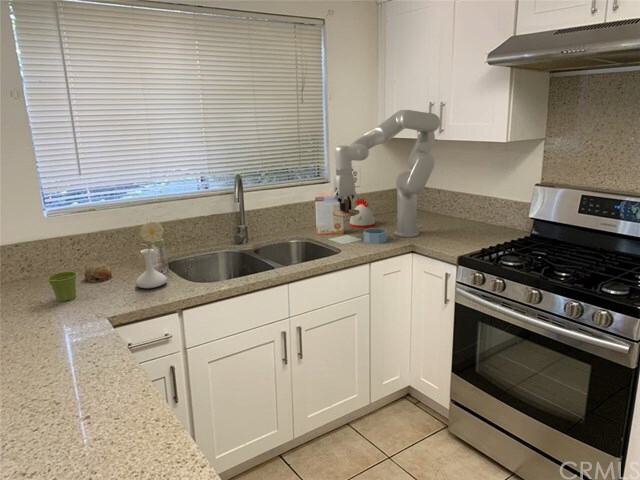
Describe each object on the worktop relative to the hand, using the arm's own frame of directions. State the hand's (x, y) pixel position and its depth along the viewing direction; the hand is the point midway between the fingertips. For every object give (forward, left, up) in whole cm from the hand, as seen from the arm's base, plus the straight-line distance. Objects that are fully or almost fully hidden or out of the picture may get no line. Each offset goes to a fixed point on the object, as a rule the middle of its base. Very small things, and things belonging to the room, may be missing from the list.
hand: (345, 209), depth 231 cm
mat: (+1, 0, -15) cm, 15 cm away
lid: (0, 0, -2) cm, 2 cm away
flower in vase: (+95, +3, -15) cm, 96 cm away
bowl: (-9, +11, -15) cm, 21 cm away
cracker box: (-1, -15, -15) cm, 22 cm away
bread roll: (+110, -21, -16) cm, 113 cm away
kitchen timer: (-25, -18, -16) cm, 35 cm away
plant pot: (+124, -4, -15) cm, 125 cm away
